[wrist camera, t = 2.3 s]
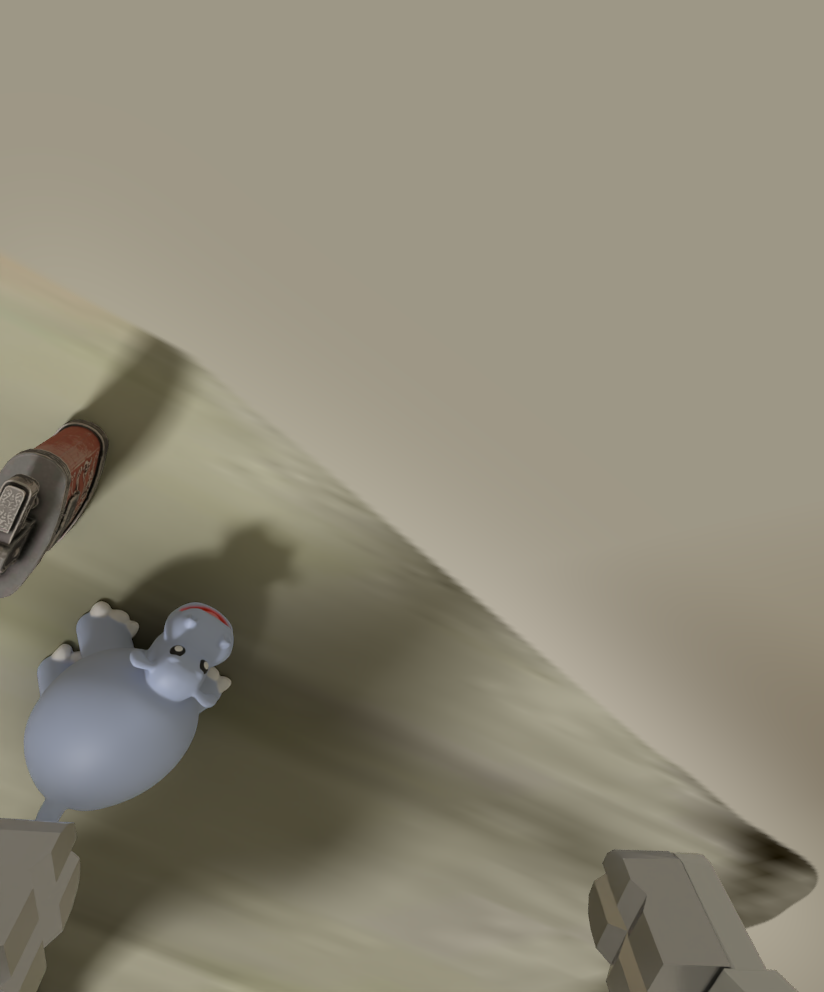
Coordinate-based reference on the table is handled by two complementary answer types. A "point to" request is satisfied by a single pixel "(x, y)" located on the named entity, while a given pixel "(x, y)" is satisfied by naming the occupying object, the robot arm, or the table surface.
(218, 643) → the hippopotamus toy
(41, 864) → the robot arm
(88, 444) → the lighter
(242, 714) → the table surface
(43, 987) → the table surface
